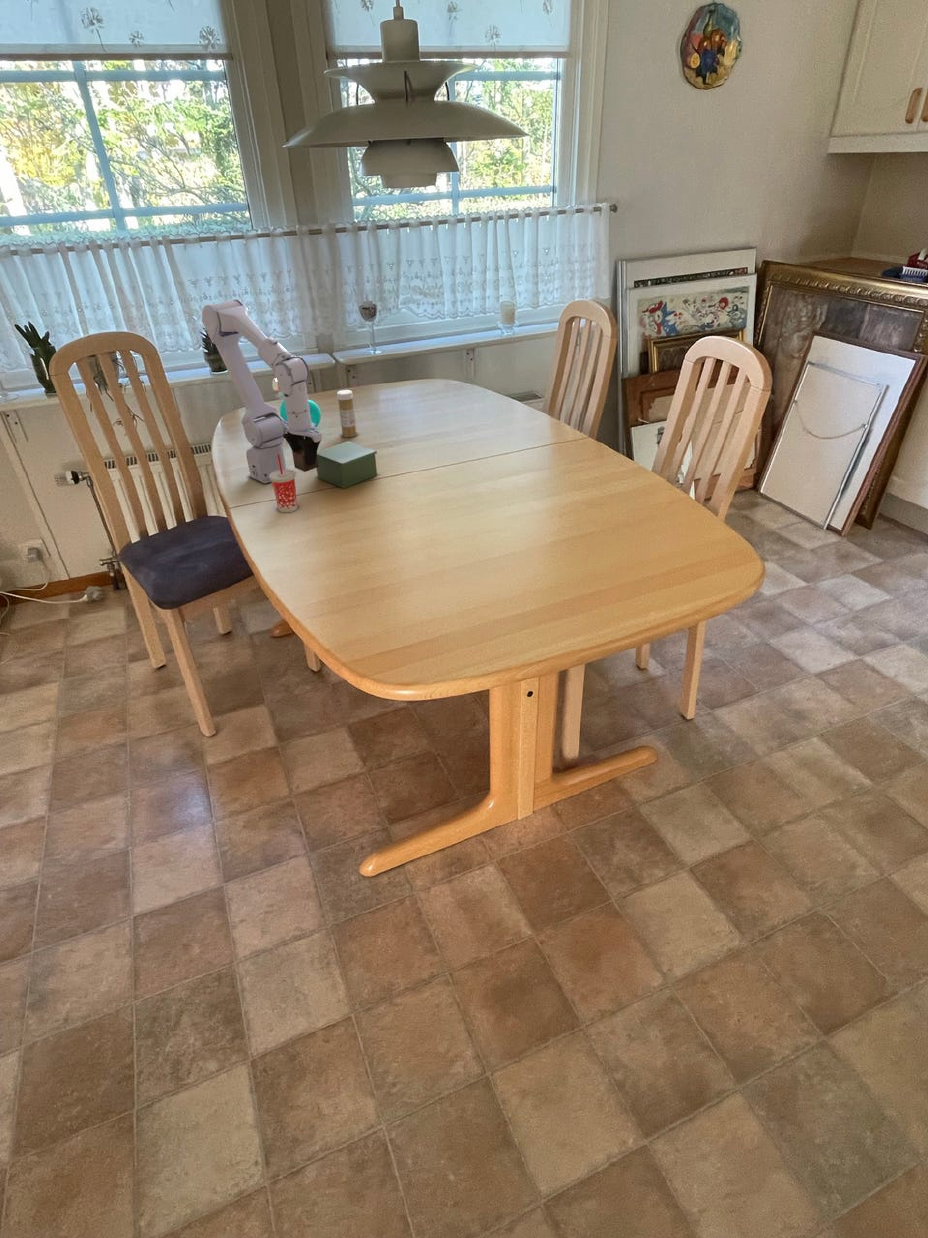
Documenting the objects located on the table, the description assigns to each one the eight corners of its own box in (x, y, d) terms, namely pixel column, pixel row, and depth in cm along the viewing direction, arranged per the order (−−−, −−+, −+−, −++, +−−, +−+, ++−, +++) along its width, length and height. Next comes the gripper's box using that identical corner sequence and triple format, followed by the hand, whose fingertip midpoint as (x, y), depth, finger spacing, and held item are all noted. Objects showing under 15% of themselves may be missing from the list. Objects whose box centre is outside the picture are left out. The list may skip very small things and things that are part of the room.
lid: (376, 453, 185) (376, 450, 184) (342, 466, 178) (342, 463, 178) (348, 443, 192) (348, 440, 191) (314, 455, 185) (314, 452, 184)
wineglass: (276, 414, 233) (270, 377, 226) (293, 412, 234) (288, 375, 227) (278, 419, 228) (271, 382, 221) (295, 417, 230) (289, 380, 223)
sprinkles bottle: (351, 431, 217) (347, 388, 210) (359, 435, 214) (355, 391, 207) (339, 435, 215) (333, 391, 207) (347, 439, 212) (341, 394, 204)
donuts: (296, 436, 215) (291, 404, 209) (281, 428, 221) (275, 397, 215) (324, 429, 220) (320, 397, 214) (309, 421, 226) (304, 390, 220)
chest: (377, 475, 189) (375, 453, 185) (343, 488, 182) (340, 466, 178) (351, 464, 195) (348, 443, 192) (317, 477, 188) (314, 455, 185)
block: (304, 472, 177) (302, 455, 175) (294, 467, 180) (291, 451, 177) (318, 466, 180) (316, 450, 177) (308, 462, 182) (306, 446, 180)
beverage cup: (305, 508, 173) (296, 454, 165) (283, 516, 169) (273, 461, 161) (292, 500, 176) (283, 447, 168) (270, 508, 173) (260, 454, 165)
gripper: (328, 411, 169) (335, 464, 177) (294, 399, 177) (302, 450, 185) (305, 419, 165) (313, 473, 173) (270, 406, 173) (279, 458, 181)
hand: (306, 462), depth 179 cm, fingers closed on block, 4 cm apart
